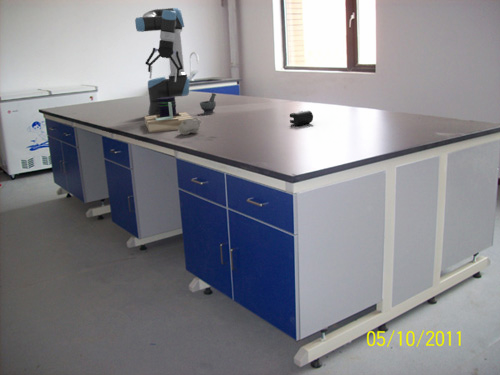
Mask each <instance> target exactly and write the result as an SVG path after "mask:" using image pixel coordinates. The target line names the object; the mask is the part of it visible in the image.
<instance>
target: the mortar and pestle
mask: <svg viewBox="0 0 500 375" xmlns="http://www.w3.org/2000/svg"><path fill="white" fill-rule="evenodd" d="M216 96H217V94H216V93H215V92H211V95H210V98H209V100H206V101H200V102H199V105H200V106H199V107H200V108H201V110H202V111H203V114H204V115H207V114H214V113H215V112H214V110H215V107H216V104H217V102H216V100H215V98H216Z"/></svg>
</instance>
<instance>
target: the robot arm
mask: <svg viewBox="0 0 500 375" xmlns="http://www.w3.org/2000/svg"><path fill="white" fill-rule="evenodd" d="M134 19H135V20H134V21H135V22H134V23H135V28H136V32H138V33H139V32H154V31H160V34H159V39H160V40H159V42H158V43H159V45H158V48H155V47H153V48H152V51H151V53H150V55H149V57H148V58H147V59H146V61H145V63H144V64H145V65H147V67H148V68H147V72H148V73H149V80H148V81H147V89H148V98H149V107H148V116H153V115H160V109H159V105H158V103H159V102H158V98H160V97H169V96H174V97H175V98H178V97H187V96H189V94H190V77H189V76H188V74H187V73H186V72H185V67H184V57H183V56H184V55H183V47H182V46H183V45H182V38H181V33H182V32H183V28H185V25H184V24H185V23H184V18H183V14H182V10H181V9H180V8H178V7H172V8H171V7H170V8H159V9H158V8H157V9H156V8H155V9H153V10H152V9H151V10H149V11H147V12H145V13H144V14H143V15H142V16H140V17H136V18H134ZM155 53H158V55H157V56H156V57H155V58H154V59H153V60H152V61H151V59H152V58H153V56H154V55H155ZM160 58H164V59H169V69H170V73H169V75H168V78H167V77H165V76H162V77H161V76H160V77H155V78H152V75H153V74H152V73H153V64H154V63H155V62H156V61H157V60H159V59H160Z"/></svg>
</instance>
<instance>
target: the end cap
mask: <svg viewBox="0 0 500 375" xmlns="http://www.w3.org/2000/svg"><path fill="white" fill-rule="evenodd" d="M289 118H292V119H290V120H289V123H290V126H291V127H299V126H305V125H310V124H311V123H312V122H313V120H314V114H313V113H312V111H310V110H306V111H305V110H304V111H303V110H302V111H298V112H291V113H290V114H289Z"/></svg>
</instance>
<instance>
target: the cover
mask: <svg viewBox="0 0 500 375" xmlns="http://www.w3.org/2000/svg"><path fill="white" fill-rule="evenodd" d="M168 106H169V114H170V117H162V118H155V120H156V121H161V120H170V119H173V112H172V103H171V102H168Z"/></svg>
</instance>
